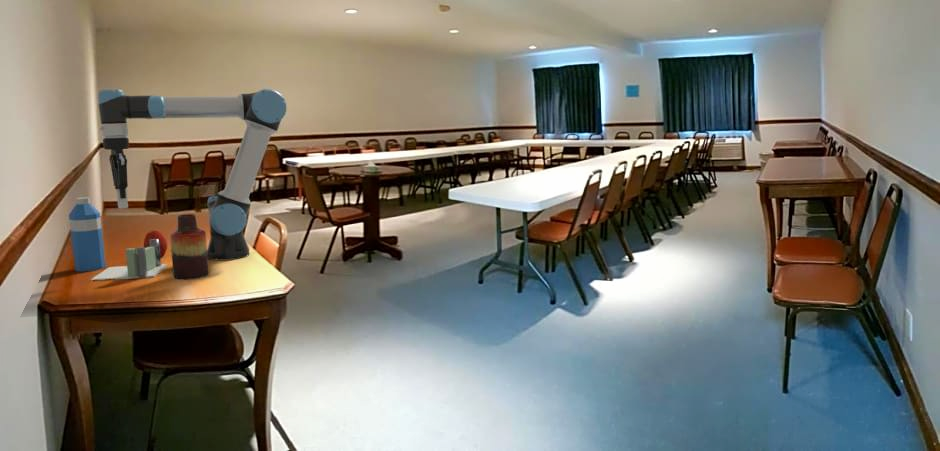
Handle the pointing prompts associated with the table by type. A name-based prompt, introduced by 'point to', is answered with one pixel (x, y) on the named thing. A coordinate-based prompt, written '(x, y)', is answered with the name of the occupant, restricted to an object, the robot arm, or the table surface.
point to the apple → (161, 241)
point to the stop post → (141, 262)
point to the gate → (133, 261)
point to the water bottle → (86, 236)
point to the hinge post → (156, 250)
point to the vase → (189, 249)
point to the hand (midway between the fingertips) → (123, 207)
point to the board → (125, 273)
